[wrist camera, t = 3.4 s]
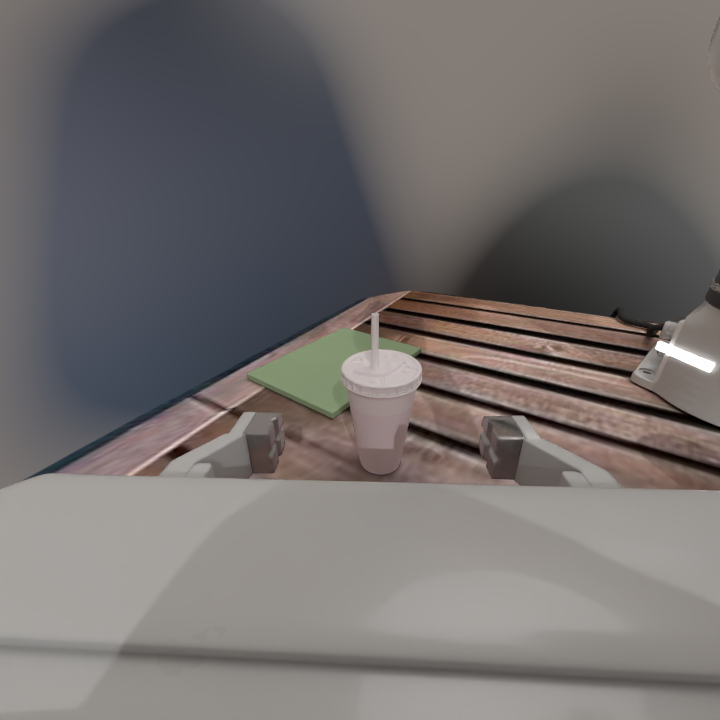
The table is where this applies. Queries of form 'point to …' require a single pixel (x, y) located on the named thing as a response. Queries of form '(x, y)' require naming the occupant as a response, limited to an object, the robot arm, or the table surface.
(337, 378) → the pad
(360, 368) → the smoothie
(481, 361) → the table surface
